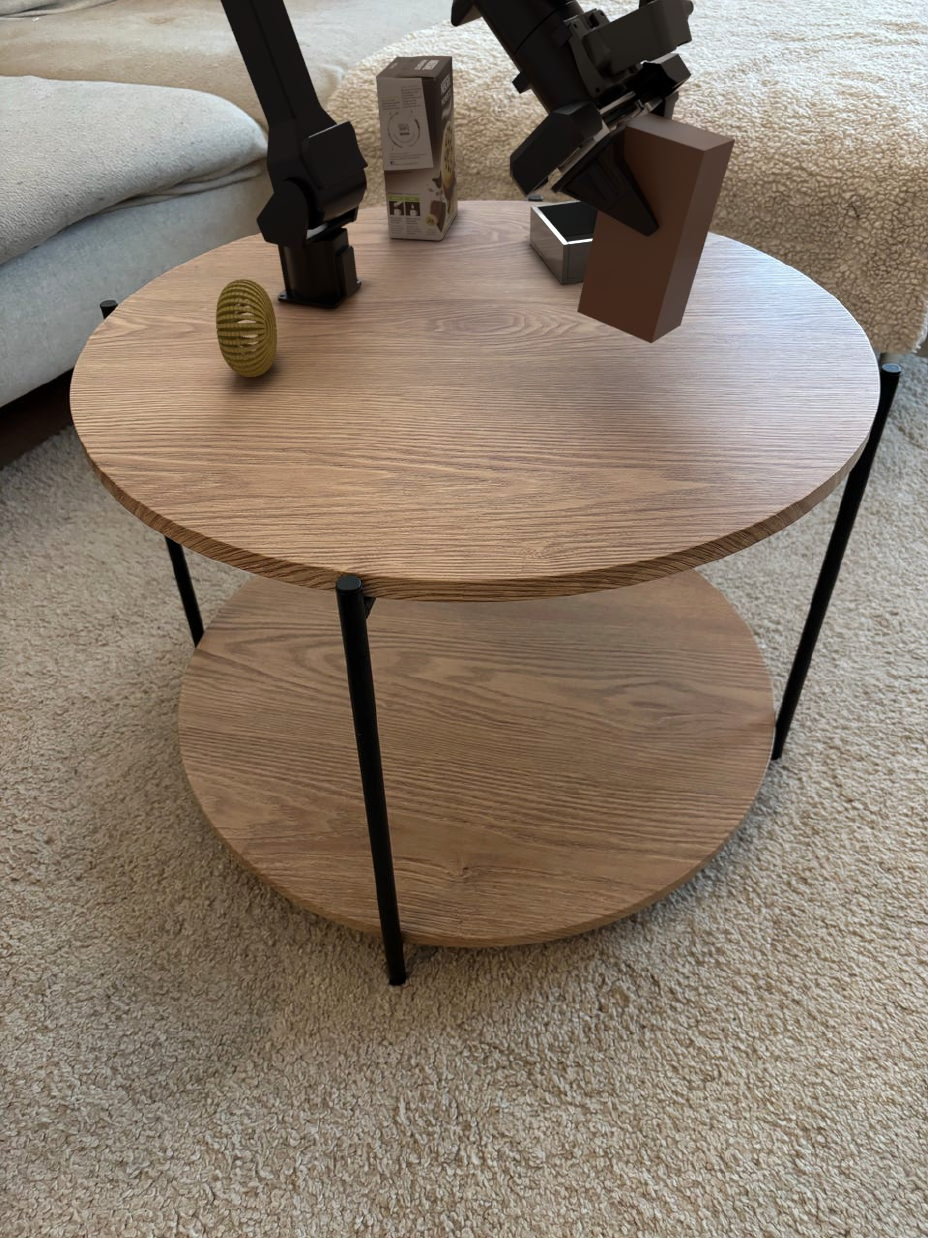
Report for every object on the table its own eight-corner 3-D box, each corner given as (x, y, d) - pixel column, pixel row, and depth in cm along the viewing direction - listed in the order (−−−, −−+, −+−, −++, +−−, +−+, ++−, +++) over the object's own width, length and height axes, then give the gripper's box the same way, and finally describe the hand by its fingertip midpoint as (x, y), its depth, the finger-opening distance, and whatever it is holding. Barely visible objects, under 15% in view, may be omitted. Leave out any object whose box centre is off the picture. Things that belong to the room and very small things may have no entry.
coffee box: (443, 241, 100) (435, 76, 89) (387, 239, 101) (372, 75, 90) (460, 211, 106) (454, 53, 95) (407, 209, 108) (395, 53, 96)
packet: (576, 311, 73) (616, 122, 64) (608, 295, 76) (650, 112, 67) (651, 343, 70) (704, 150, 61) (680, 325, 74) (735, 138, 64)
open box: (561, 284, 91) (563, 244, 88) (529, 243, 99) (530, 205, 96) (665, 270, 93) (670, 230, 90) (625, 230, 101) (629, 193, 98)
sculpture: (243, 350, 83) (224, 263, 78) (286, 349, 83) (270, 262, 77) (224, 394, 77) (202, 305, 72) (270, 393, 77) (252, 303, 72)
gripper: (555, -40, 52) (706, 191, 55) (683, -83, 63) (802, 112, 67) (448, 96, 61) (583, 289, 64) (577, 37, 72) (687, 204, 75)
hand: (669, 219), depth 67 cm, fingers closed on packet, 5 cm apart
